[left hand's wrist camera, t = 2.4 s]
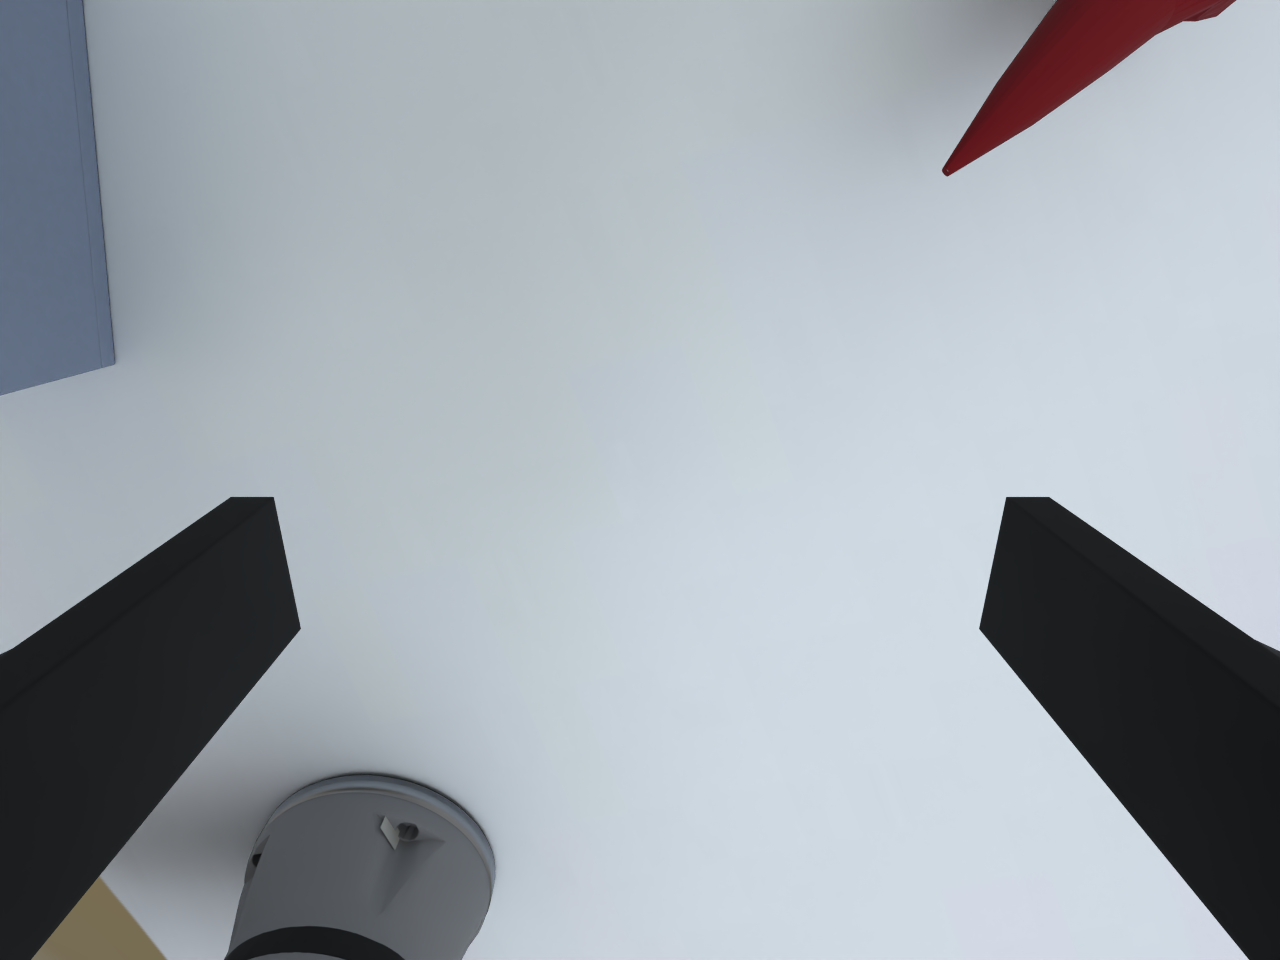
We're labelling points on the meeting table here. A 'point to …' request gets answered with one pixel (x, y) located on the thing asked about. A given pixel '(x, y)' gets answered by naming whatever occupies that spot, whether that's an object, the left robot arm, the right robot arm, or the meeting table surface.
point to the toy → (1069, 62)
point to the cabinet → (49, 200)
